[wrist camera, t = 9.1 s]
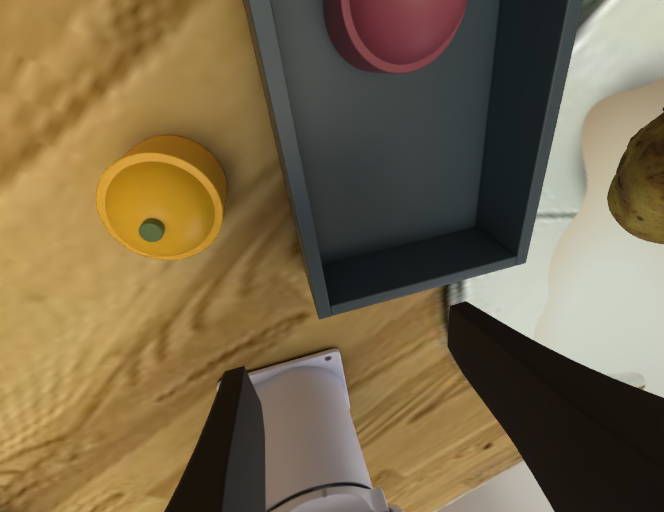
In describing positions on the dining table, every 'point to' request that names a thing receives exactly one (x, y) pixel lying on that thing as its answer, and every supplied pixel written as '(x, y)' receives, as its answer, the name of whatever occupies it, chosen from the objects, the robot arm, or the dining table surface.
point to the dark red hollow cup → (392, 31)
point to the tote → (413, 146)
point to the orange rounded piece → (163, 198)
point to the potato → (641, 184)
